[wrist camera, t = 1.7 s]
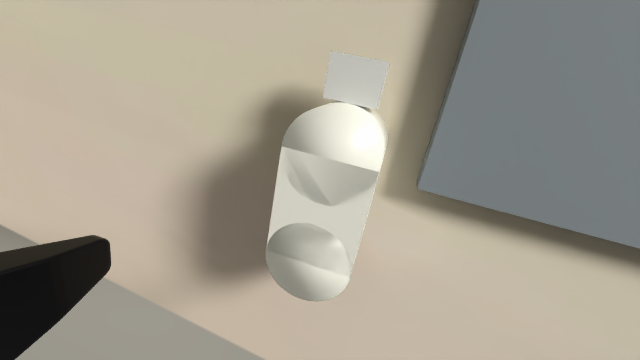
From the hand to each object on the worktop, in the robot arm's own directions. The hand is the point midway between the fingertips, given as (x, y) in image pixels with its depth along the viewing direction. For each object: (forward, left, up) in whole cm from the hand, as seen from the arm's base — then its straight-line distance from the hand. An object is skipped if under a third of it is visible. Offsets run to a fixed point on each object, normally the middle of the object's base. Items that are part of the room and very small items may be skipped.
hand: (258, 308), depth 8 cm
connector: (0, 0, -11) cm, 11 cm away
